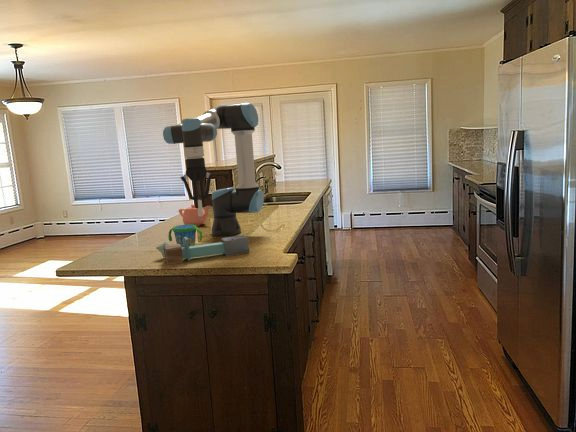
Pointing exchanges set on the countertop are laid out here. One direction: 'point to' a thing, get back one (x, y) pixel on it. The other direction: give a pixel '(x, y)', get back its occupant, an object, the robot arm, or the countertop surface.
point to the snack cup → (185, 234)
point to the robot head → (162, 248)
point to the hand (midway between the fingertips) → (200, 215)
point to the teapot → (193, 216)
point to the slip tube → (201, 249)
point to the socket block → (173, 254)
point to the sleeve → (236, 245)
